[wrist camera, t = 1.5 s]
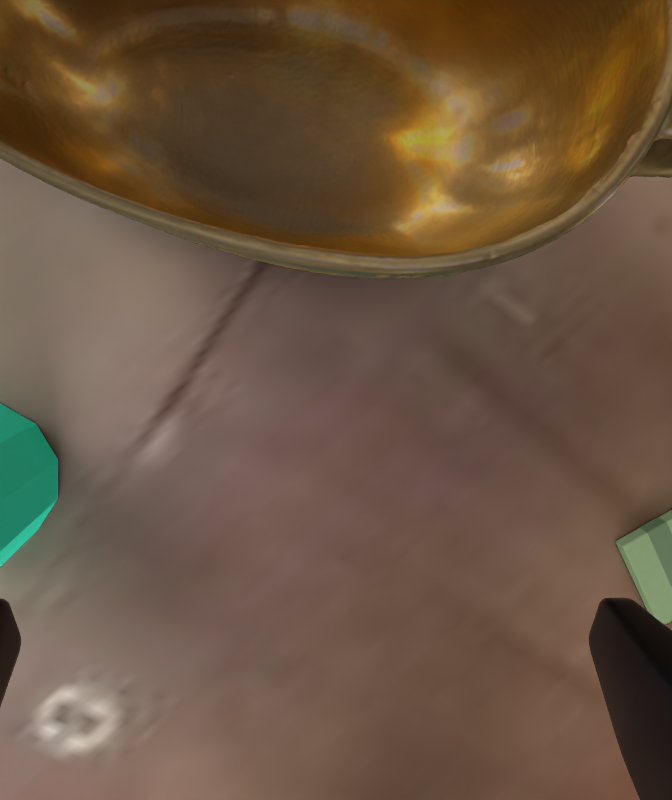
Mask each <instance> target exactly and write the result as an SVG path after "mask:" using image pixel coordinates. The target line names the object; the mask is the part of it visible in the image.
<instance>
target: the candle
mask: <svg viewBox="0 0 672 800" xmlns="http://www.w3.org/2000/svg"><path fill="white" fill-rule="evenodd" d="M57 500H58V458H57V457H56V455H55V454H54V452H53V450H52V449H51V447H50V445H49V444H48V442H47V441H46V439H45V437H44V436H43V434H42V432H41V431H40V429H39V428H38V426H37V424H35V423H33V422H32V421H30V420H28V419H27V418H25V417H23V416H21V415H20V414H18V413H16V412H15V411H13V410H11V409H9V408H8V407H6V406H4V405H2V404H1V403H0V567H1V566H2V565H3V564H4V563H5V562H6V561H7V560H8V559H9V558H10V557H11V556H12V555H13V554H14V553H15V552H16V551H17V550H18V549H19V548H20V547H21V546H22V545H23V544H24V543H25V542H26V541H27V540H29V539H30V538H31V537H32V536H33V535H34V534H35V533H36V532H37V531H38V529H39V528H40V526H41V525H42V523H43V522H44V520H45V518H46V517H47V515H48V514H49V512H50V511H51V509H52V508H53V506H54V504H55V503H56V501H57Z"/></svg>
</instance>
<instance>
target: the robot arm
mask: <svg viewBox="0 0 672 800" xmlns="http://www.w3.org/2000/svg"><path fill="white" fill-rule="evenodd" d="M20 646H21V636H20V632H19V630H18V627H17V624H16V621H15V618H14V616H13V613H12V610H11V607H10V605H9V603H8V602H7V601H6V600H5V599H0V706H1V703H2V700H3V698H4V695H5V692H6V689H7V686H8V683H9V680H10V677H11V675H12V672H13V669H14V666H15V663H16V660H17V657H18V654H19V651H20ZM589 646H590V651H591V654H592V658H593V661H594V664H595V668H596V671H597V675H598V678H599V681H600V685H601V688H602V691H603V695H604V698H605V701H606V705H607V708H608V711H609V715H610V718H611V721H612V725H613V728H614V732H615V735H616V738H617V741H618V744H619V747H620V750H621V753H622V756H623V758H624V761H625V764H626V766H627V769H628V771H629V774H630V776H631V779H632V781H633V784H634V786H635V789H636V791H637V794H638V796H639V798H640V800H672V630H670V629H669V628H668V627H667V626H665V625H664V624H663V623H662V622H660V621H659V620H658V619H657V618H655V617H654V616H653V615H652V614H650V613H649V612H648V611H646V610H645V609H644V608H643V607H641V606H640V605H639V604H638V603H636V602H635V601H633V600H631V599H629V598H605V599H603V600H602V601H601V602H600V604H599V606H598V609H597V612H596V615H595V618H594V621H593V624H592V627H591V630H590V634H589Z"/></svg>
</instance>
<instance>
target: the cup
mask: <svg viewBox="0 0 672 800" xmlns="http://www.w3.org/2000/svg"><path fill="white" fill-rule="evenodd" d="M0 158H1V159H2V160H4V161H6V162H8V163H10V164H12V165H14V166H16V167H17V168H19V169H21V170H23V171H25V172H27V173H29V174H31V175H32V176H34V177H36V178H38V179H40V180H42V181H44V182H46V183H48V184H50V185H52V186H54V187H56V188H58V189H60V190H63V191H65V192H67V193H69V194H71V195H74V196H76V197H78V198H81V199H83V200H85V201H88V202H90V203H93V204H95V205H98V206H100V207H103V208H105V209H108V210H110V211H113V212H115V213H118V214H121V215H123V216H126V217H128V218H131V219H133V220H136V221H139V222H142V223H144V224H147V225H149V226H152V227H154V228H157V229H160V230H163V231H165V232H168V233H171V234H173V235H176V236H179V237H181V238H184V239H186V240H189V241H192V242H195V243H197V244H203V245H206V246H207V247H210V248H215V249H216V250H221V251H224V252H228V253H231V254H235V255H238V256H241V257H246V258H249V259H253V260H258V261H261V262H265V263H270V264H273V265H280V266H283V267H287V268H292V269H299V270H304V271H307V272H317V273H323V274H331V275H340V276H350V277H355V278H358V277H362V278H386V279H387V278H401V279H404V278H417V277H429V276H436V275H450V274H456V273H461V272H465V271H469V270H475V269H479V268H483V267H487V266H491V265H494V264H498V263H501V262H505V261H508V260H511V259H513V258H516V257H519V256H522V255H524V254H527V253H529V252H531V251H534V250H536V249H538V248H540V247H542V246H544V245H546V244H548V243H550V242H552V241H554V240H556V239H557V238H559V237H561V236H562V235H564V234H566V233H567V232H569V231H570V230H572V229H573V228H575V227H577V226H578V225H579V224H581V223H582V222H584V221H585V220H586V219H587V218H588V217H589V216H591V215H592V214H593V213H594V212H595V211H596V210H598V209H599V208H600V207H601V206H602V205H604V204H605V203H606V202H607V201H608V199H610V198H611V197H612V195H613V194H614V193H615V192H616V191H617V190H618V189H619V188H620V187H621V186H622V185H623V184H624V183H625V181H626V180H627V179H628V178H629V177H632V176H643V177H655V176H660V177H667V178H670V177H672V0H0Z"/></svg>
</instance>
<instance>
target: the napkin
mask: <svg viewBox="0 0 672 800" xmlns="http://www.w3.org/2000/svg"><path fill="white" fill-rule="evenodd" d="M616 544H617V546H618V549H619V551H620V553H621V555H622V557H623V559H624V562H625V564H626V566H627V568H628V570H629V572H630V575H631V577H632V579H633V581H634V583H635V585H636V588H637V590H638V592H639V594H640V596H641V598H642V600H643V603H644V605H645V607H646V609H647V611H648V612H649V613H650V614H652V615H653V616H654V617H655V618H657V619H658V620H659V621H660V622H662V623H663V624H664V625H666V624H667V623H669V622H671V621H672V510H670V511H668V512H667V513H665V514H663V515H661V516H659V517H657V518H655V519H653V520H651V521H650V522H648V523H646V524H644V525H643V526H641V527H639V528H638V529H636V530H635V531H633V532H631V533H629V534H627V535H626V536H624V537H622V538H620V539H619V540H617V541H616Z"/></svg>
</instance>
